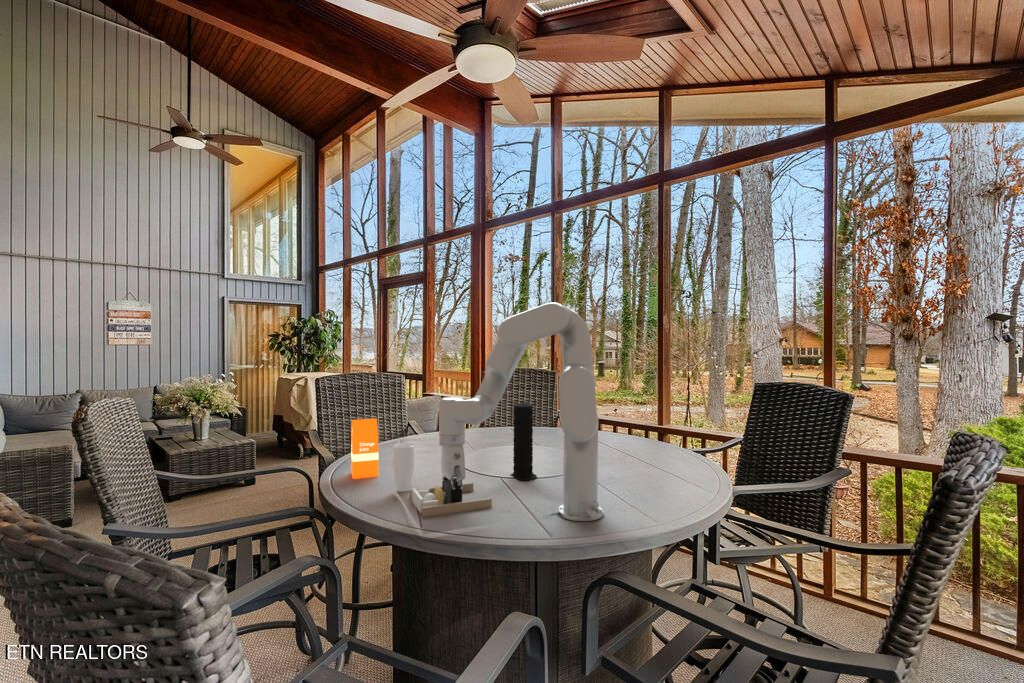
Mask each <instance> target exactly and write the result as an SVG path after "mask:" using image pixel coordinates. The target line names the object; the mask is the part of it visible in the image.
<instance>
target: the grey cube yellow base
mask: <svg viewBox="0 0 1024 683" xmlns="http://www.w3.org/2000/svg"><path fill="white" fill-rule="evenodd" d="M455 482H457V481H454V485H455ZM434 487H435V496H436V500H438V505H443V504H444V502H445V504H450V503H451V489H452V485H451V481H450V480H445V481H444V492H443V490H442V489H441V488H440V487H441V486H439V485H437V486H434Z"/></svg>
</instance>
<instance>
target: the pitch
mask: <svg viewBox="0 0 1024 683" xmlns="http://www.w3.org/2000/svg"><path fill="white" fill-rule="evenodd" d="M439 487H440V488H441V489H442V485H441V486H439ZM415 489H416V490H417V491H419V490H427V489H429V493H433V494H434V495H435V486H433V487H425V488H419V489H418V488H415ZM473 491H474V482H467V483H462V493H464V492H465V493H466V492H473ZM409 499H411V500H412V490H410V491H409ZM492 504H493V500H492V498H491V497H488V498H481V499H473V500H467V501H462V502H458V503H450V504H446V503H445V504H444V503H443V505H436V506H428V507H422V513H421V517H423V518H424V517H430V516H431V517H432V516H437V515H445V514H452V513H460V512H466V511H473V510H479V509H488V508H492V507H493V505H492Z"/></svg>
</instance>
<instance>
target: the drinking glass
mask: <svg viewBox="0 0 1024 683" xmlns="http://www.w3.org/2000/svg"><path fill="white" fill-rule="evenodd" d="M392 464H393V465H392V466H393V475H394V491H395V493H396V494H398V492H400V493H401V492H410V490H412V488H413V478H414V468H415V467H414V466H415V445H414V444H413V443H408V442H404V443H396V444H393V446H392Z"/></svg>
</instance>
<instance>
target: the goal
mask: <svg viewBox="0 0 1024 683" xmlns="http://www.w3.org/2000/svg"><path fill="white" fill-rule="evenodd" d="M416 489H417V488H415V487H412V499H411V502H412V504H413V505H414V506H415V508H416V509H417V511H418V512H419V513H420V514H422V507H428V506H436V505H438V500H433V501H425V502H424V496H425V495H426V494H428V493H429V489H427V490H419V491H417V490H416Z"/></svg>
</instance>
